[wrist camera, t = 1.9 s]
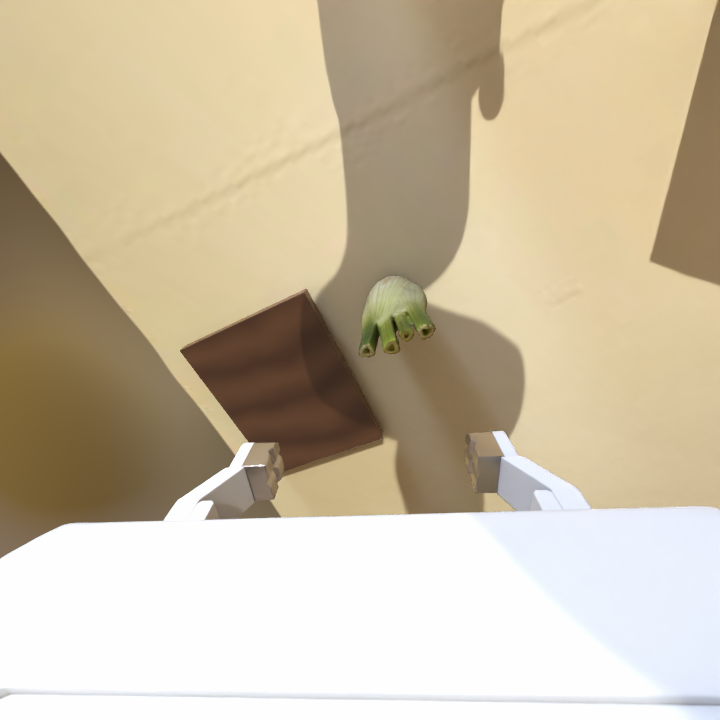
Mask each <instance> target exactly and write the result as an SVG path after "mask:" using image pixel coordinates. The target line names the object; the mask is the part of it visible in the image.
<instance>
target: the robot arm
mask: <svg viewBox="0 0 720 720" xmlns="http://www.w3.org/2000/svg"><path fill="white" fill-rule="evenodd" d="M466 444H467V446H468V447H467V448H466V449H465V462H466V467H467V470H468V472H469V473H470V474H471V481H472V484H473V487H474V490H475V493H497V494H498V495H499V496H500V497H501V498H503V499H504V500H505V501H506V502H507V503H508V504H509V505H510V506H511V507H512V508H514V509H515V510H516V511H504V512H469V513H432V514H396V515H361V516H324V517H287V518H251V519H238V518H239V517H240V516H241V515H242V514H243V513H244V512H245V511H246V510H247V509H248V508H249V507H250V506H251V505H252V504H253V503H254V501H255V500H272V499H274V498H275V496H276V493H277V490H278V483H277V482H278V481H280V480H281V479H282V475H283V469H284V464H283V458H282V457H281V456H280V455H279V452H280V446H279V443H278V442H251V443H244V444H242V446H241V447H240V449H239V451H238V453H237V454H236V456H235V458H234V460H233V462H232V463H231V465H230V467H229V468H225V469H223V470H222V471H220V472H219V473H218V474H216V475H214V476H213V477H212V478H210V479H209V480H207V481H206V482H204V483H203V484H201V485H200V486H198V487H197V488H195V489H194V490H193V491H191V492H189V493H188V494H186V495H185V496H183V497H182V498H181V499H179V500H178V501H177V502H176V503H175V505H174V506H173V508H172V509H171V510H170V512H169V513H168V515H167V516H166V518H165V519H164V521H142V522H106V523H72V524H65V525H63V526H60V527H58V528H56V529H54V530H52V531H50V532H48V533H46V534H43V535H42V536H40V537H38V538H36V539H34V540H32V541H30V542H29V543H27V544H25V545H23V546H21V547H20V548H18V549H16V550H14V551H12V552H10V553H9V554H7V555H5V556H4V557H2V558H1V559H0V720H720V509H718V508H714V507H708V506H680V507H647V508H613V509H592V508H591V507H590V505H589V504H588V502H587V501H586V500H585V498H584V497H583V495H582V494H581V493H580V491H579V490H578V488H576V487H575V486H573V485H571V484H569V483H568V482H566V481H564V480H563V479H561V478H559V477H557V476H556V475H554V474H552V473H551V472H549V471H547V470H545V469H544V468H542V467H540V466H539V465H537V464H535V463H534V462H532V461H530V460H528V459H527V458H525V457H523V456H519V455H518V454H517V452H516V450H515V448H514V447H513V445H512V443H511V442H510V440H509V438H508V436H507V435H506V433H505V432H504V431H492V432H480V433H467V434H466Z"/></svg>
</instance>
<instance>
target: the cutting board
mask: <svg viewBox="0 0 720 720" xmlns="http://www.w3.org/2000/svg"><path fill="white" fill-rule="evenodd" d="M180 352H181V353H182V354H183V356H184V357H185V358H186V360H187V361H188V362H189V364H190V365H191V366H192V368H193V369H194V370H195V371H196V373H197V374H198V375H199V377H200V378H201V379H202V381H203V382H204V383H205V385H206V386H207V387H208V389H209V390H210V391H211V393H212V394H213V395H214V397H215V398H216V399H217V401H218V402H219V403H220V405H221V406H222V407H223V409H224V410H225V411H226V413H227V414H228V415H229V417H230V418H231V419H232V420H233V422H234V423H235V424H236V426H237V427H238V428H239V430H240V431H241V432H242V434H243V435H244V436H245V438H246V439H247V440H248V442H249V443H251V442H278V443H279V446H280V452H279V455H280V456H281V457H282V458H283V464H284V469H283V471H285V470H288V469H291V468H294V467H297V466H300V465H303V464H306V463H309V462H312V461H315V460H318V459H321V458H324V457H327V456H330V455H333V454H336V453H339V452H342V451H345V450H348V449H351V448H354V447H357V446H360V445H363V444H366V443H369V442H372V441H375V440H378V439H381V438H383V432H382V429H381V427H380V425H379V423H378V421H377V419H376V418H375V416H374V414H373V412H372V410H371V408H370V406H369V404H368V403H367V401H366V399H365V397H364V395H363V393H362V391H361V389H360V388H359V386H358V384H357V382H356V380H355V378H354V376H353V375H352V373H351V371H350V369H349V367H348V365H347V363H346V361H345V360H344V358H343V356H342V354H341V352H340V350H339V348H338V346H337V345H336V343H335V341H334V339H333V337H332V335H331V333H330V332H329V330H328V328H327V326H326V324H325V322H324V320H323V318H322V317H321V315H320V313H319V311H318V309H317V307H316V305H315V303H314V302H313V300H312V298H311V296H310V294H309V292H308V290H307V289H305V290H303V291H301V292H299V293H296V294H294V295H292V296H290V297H288V298H286V299H284V300H282V301H279V302H277V303H275V304H273V305H271V306H269V307H267V308H265V309H262V310H260V311H258V312H256V313H254V314H252V315H250V316H248V317H245V318H243V319H241V320H239V321H237V322H235V323H233V324H231V325H228V326H226V327H224V328H222V329H220V330H218V331H216V332H214V333H211V334H209V335H207V336H205V337H203V338H201V339H199V340H197V341H195V342H192V343H190V344H188V345H186V346H185V347H184V348H182V349H181V350H180Z"/></svg>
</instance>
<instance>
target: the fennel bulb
mask: <svg viewBox="0 0 720 720" xmlns="http://www.w3.org/2000/svg"><path fill="white" fill-rule="evenodd" d="M426 308H427V299H426V295H425V293H424V291H423V290H422V288H421V287H420V286H419V285H417V284H415V283H413V282H411V281H409V280H408V279H406V278H404V277H401V276H388V277H386V278H383V279H381V280H380V281H378V282H377V283H376V284H375V285H374V286H373V288H372V289H371V291H370V293H369V296H368V298H367V301H366V304H365V307H364V311H363V315H362V320H361V322H362V339H361V344H360V347H359V355H360V356H362V357H372V356H374V355H375V351H376V347H377V342H378V338H379V336H380V338H381V341H382V347H383V351H384V352H385V353H388V354H396V353H398V352H399V351H400V346H399V342H398V339H397V336H396V331H398V330H399V335H400V337H401V338H402V340H403V341H405V342H409V341H410V340H411V339H412V338H413V336H414V331H413V329H412V325H413V326H414V327H415V329H416V331H417V332H418V334H419V336H420V337H421V338H422V340H425V339H427V338H430V337H431V336H432V335H433V333H434V332H435V330H436V328H435V325H434V324H433V323H432V322H431V320H430V319H429V317H428V315H427V313H426Z"/></svg>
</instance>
